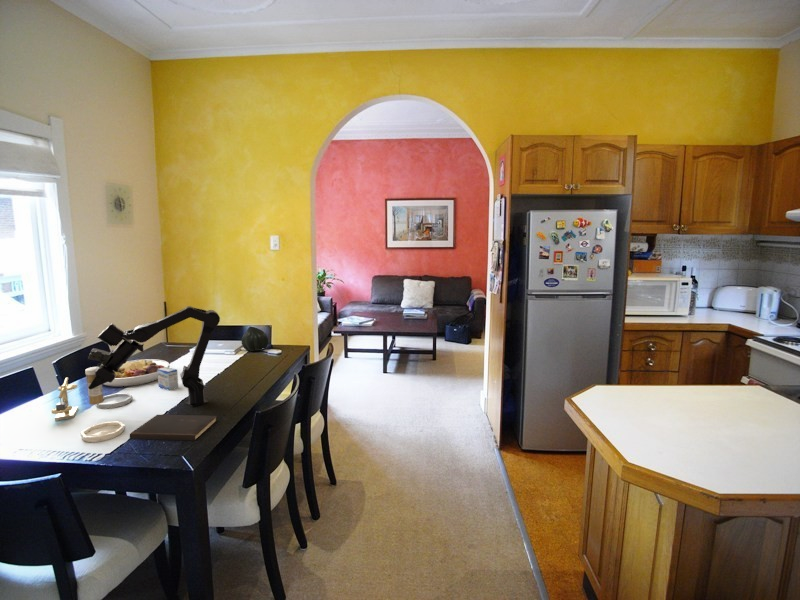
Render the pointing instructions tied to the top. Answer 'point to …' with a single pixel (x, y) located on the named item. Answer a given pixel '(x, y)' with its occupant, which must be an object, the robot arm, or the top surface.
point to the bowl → (137, 372)
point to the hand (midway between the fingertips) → (90, 386)
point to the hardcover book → (173, 427)
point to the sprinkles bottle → (96, 392)
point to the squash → (254, 339)
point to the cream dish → (102, 431)
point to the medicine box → (167, 378)
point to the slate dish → (115, 400)
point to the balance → (65, 403)
